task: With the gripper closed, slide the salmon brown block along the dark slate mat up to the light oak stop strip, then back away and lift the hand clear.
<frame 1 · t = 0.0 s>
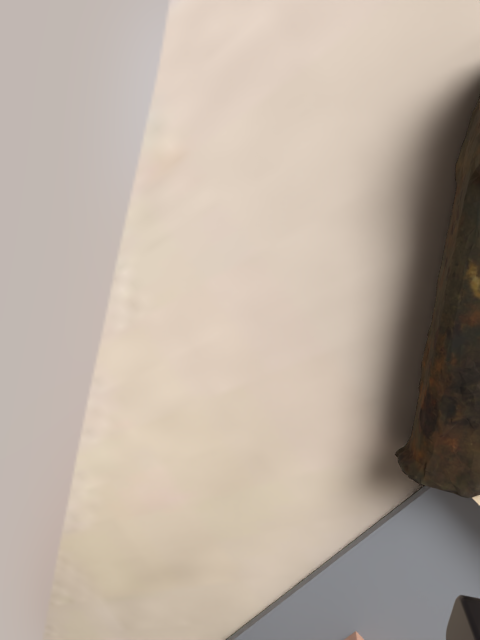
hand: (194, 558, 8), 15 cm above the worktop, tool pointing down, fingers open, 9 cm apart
hand tool: (452, 269, 21), on the worktop, touching slate mat
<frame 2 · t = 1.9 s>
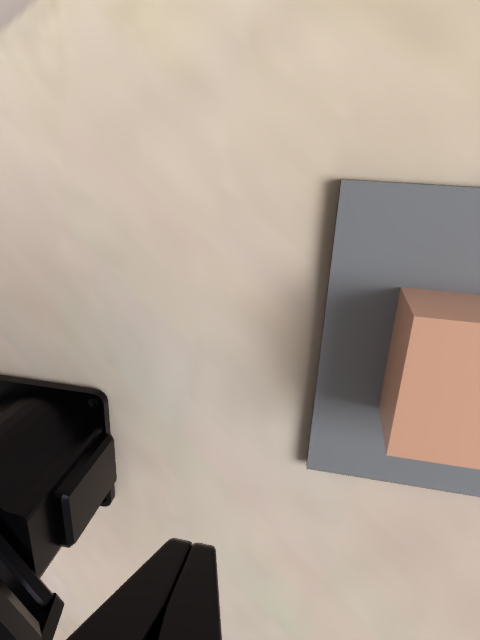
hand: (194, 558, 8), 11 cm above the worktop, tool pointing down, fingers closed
salmon brown block: (459, 358, 17), resting on slate mat
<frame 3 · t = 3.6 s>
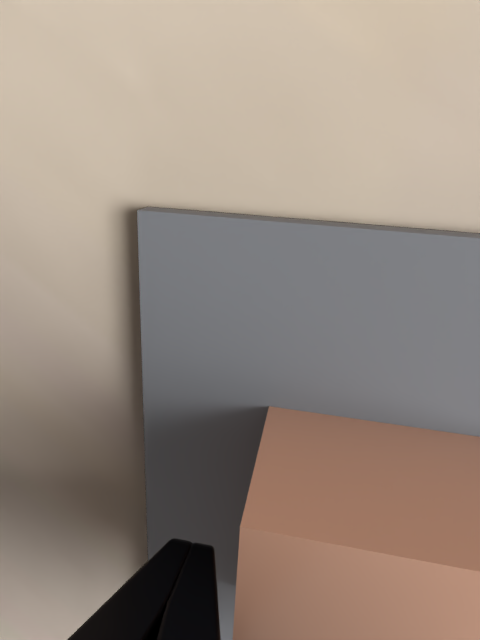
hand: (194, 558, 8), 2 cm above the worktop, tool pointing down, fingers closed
salmon brown block: (381, 529, 9), point 1 cm above the worktop, touching gripper
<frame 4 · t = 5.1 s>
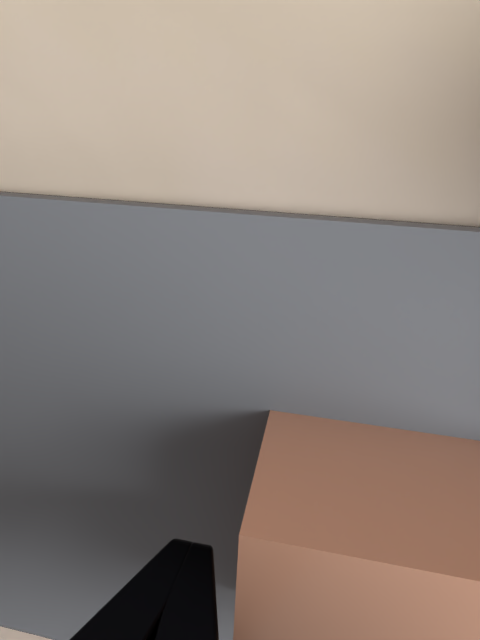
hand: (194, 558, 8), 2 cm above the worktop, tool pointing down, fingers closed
salmon brown block: (385, 534, 9), resting on slate mat, touching gripper
slate mat: (236, 486, 10), on the worktop
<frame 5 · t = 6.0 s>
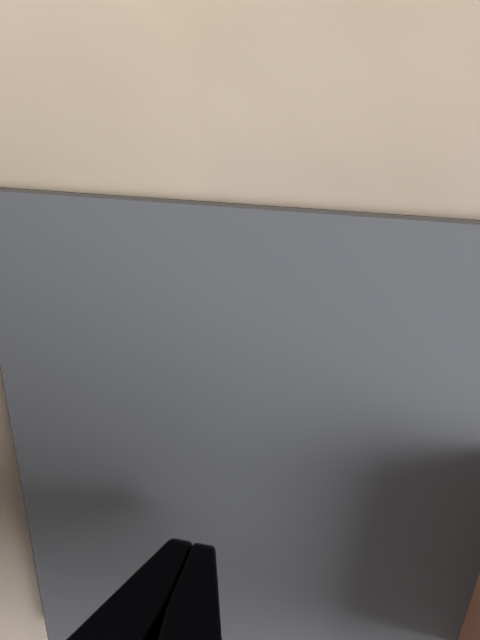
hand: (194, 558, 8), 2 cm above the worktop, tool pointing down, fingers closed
slate mat: (445, 523, 9), on the worktop
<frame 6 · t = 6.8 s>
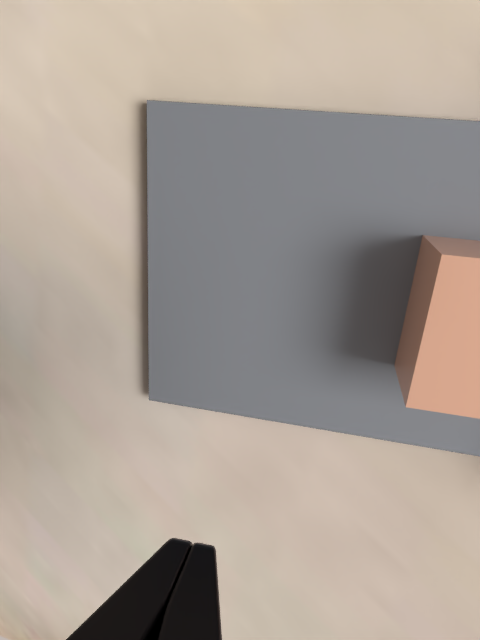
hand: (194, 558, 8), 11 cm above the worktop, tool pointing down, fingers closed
slate mat: (388, 294, 17), on the worktop
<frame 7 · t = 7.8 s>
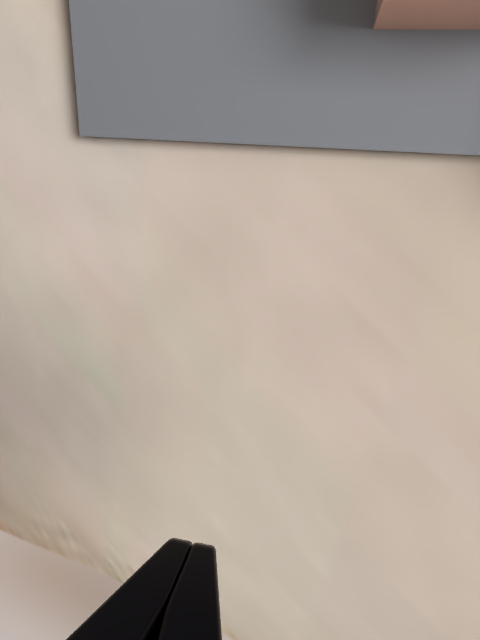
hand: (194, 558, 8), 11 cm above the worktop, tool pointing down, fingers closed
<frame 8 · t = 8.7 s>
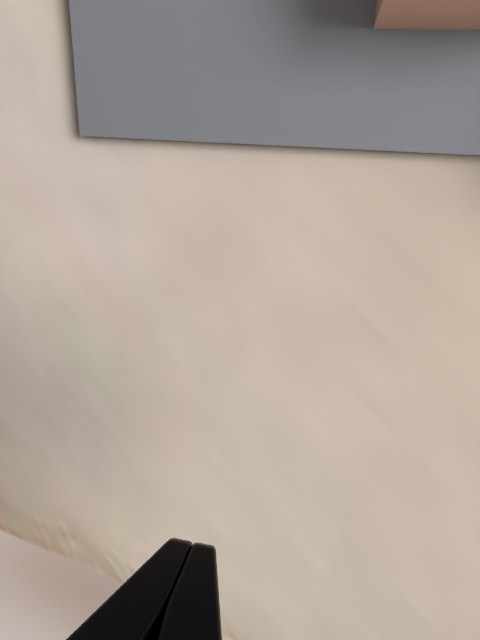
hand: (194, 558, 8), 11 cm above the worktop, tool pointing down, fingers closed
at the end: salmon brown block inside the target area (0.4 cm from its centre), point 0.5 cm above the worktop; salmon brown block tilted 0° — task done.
